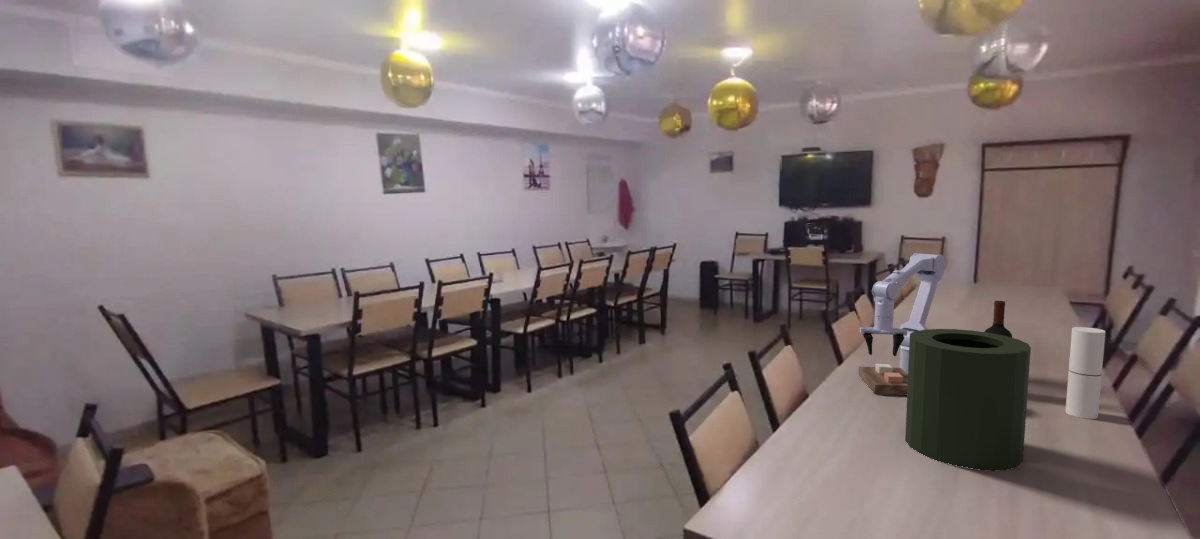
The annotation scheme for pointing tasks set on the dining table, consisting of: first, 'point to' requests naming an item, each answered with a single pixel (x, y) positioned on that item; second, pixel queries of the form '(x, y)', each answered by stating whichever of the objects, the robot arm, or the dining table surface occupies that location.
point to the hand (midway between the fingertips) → (882, 354)
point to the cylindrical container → (1085, 372)
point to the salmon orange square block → (893, 377)
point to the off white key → (883, 368)
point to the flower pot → (967, 397)
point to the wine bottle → (999, 320)
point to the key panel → (883, 381)
